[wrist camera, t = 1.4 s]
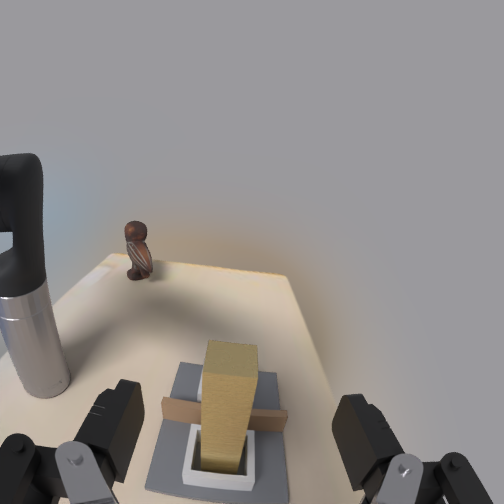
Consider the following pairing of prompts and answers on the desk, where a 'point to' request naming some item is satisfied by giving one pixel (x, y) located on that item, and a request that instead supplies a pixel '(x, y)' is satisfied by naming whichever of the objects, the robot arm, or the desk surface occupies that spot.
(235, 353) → the post
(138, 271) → the figurine
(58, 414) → the desk surface
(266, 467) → the plate
